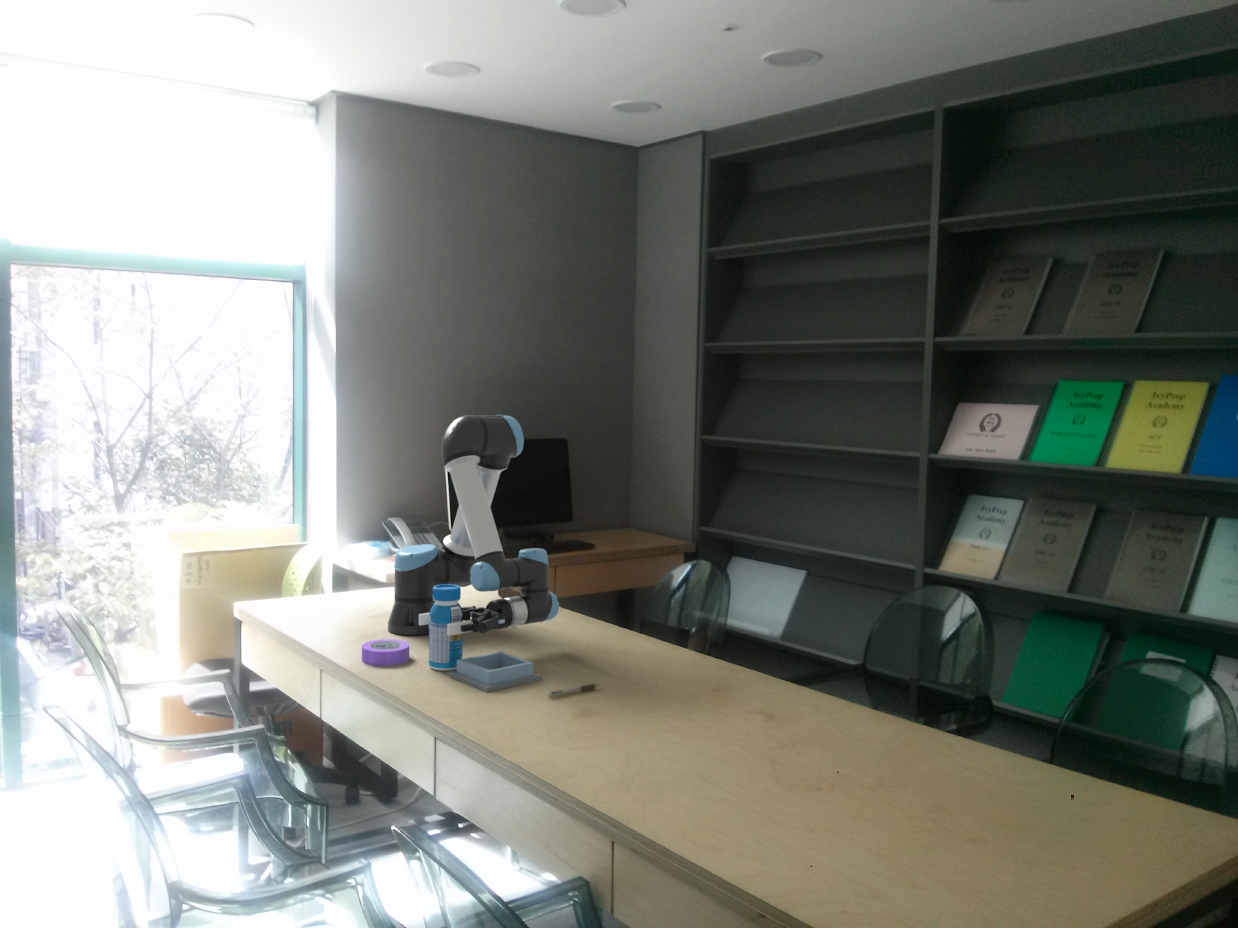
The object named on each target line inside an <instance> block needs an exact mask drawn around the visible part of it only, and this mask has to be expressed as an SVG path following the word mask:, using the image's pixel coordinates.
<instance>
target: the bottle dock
mask: <svg viewBox="0 0 1238 928" xmlns="http://www.w3.org/2000/svg"><path fill="white" fill-rule="evenodd" d="M447 677H449V678H451V679H453V680H456V681H458V682H461V683H463V684H466V685H468V686H470V687H473V688H475V689H478V690H480V691H483V692H485V693H489V692H493V691H498V690H502V689H507V688H508V689H509V688H511V687H516V686H520V685H526V684H529V683H533V682H538V681H543V675H541V674H538V673H536V672H534V662H532V661H529V660H526V659H523V658H520V657H518V656H514V655H512V654H509V653H506V652H504V651H496V652H492V653H486V654H480V655H476V656H470V657H465V658H462V659H460V660H457V669H455V670H450V671H447Z"/></svg>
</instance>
